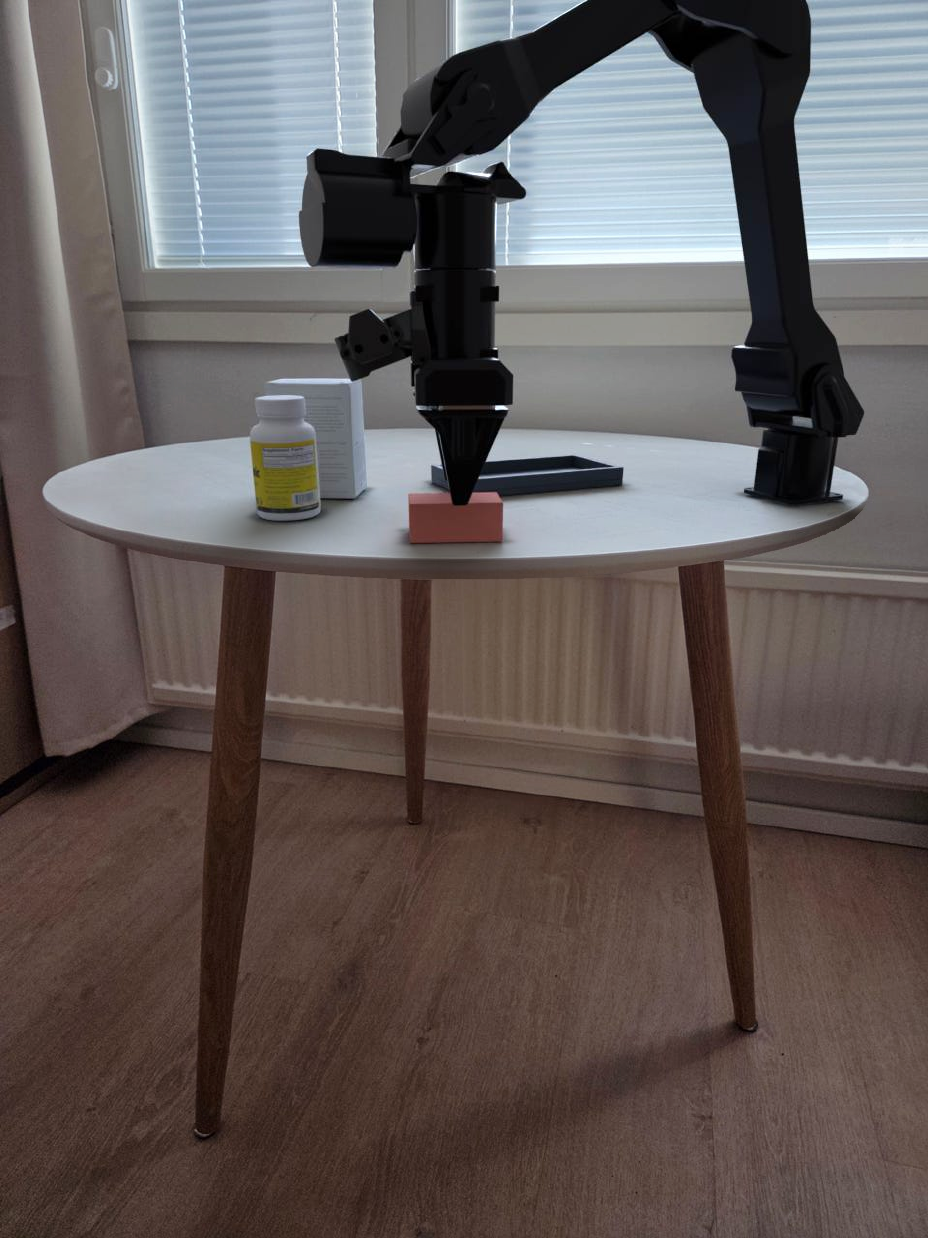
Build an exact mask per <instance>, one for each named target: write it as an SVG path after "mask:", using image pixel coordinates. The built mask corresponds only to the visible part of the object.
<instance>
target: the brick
mask: <svg viewBox="0 0 928 1238" xmlns="http://www.w3.org/2000/svg"><path fill="white" fill-rule="evenodd" d="M407 498H408V532H409V543H410V544H437V543H444V544H445V543H495V542H500V543H501V542H503V537H504V536H503V535H504V531H503V530H504V528H503V527H504V502H503V500H502V498H501V496H499V495H498V494H497V492H485V493H472V495H471V498H470V500H469V502H468V504H467V505H465V506H454V505H453V504H452V501H451V496H450V492H424V493H423V492H422V493H419V492H417V493H414V492H413V493H412V492H411V493H410V492H409V493H408V495H407Z"/></svg>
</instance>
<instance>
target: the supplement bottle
mask: <svg viewBox="0 0 928 1238" xmlns="http://www.w3.org/2000/svg"><path fill="white" fill-rule="evenodd" d="M254 404H255V405H254V406H255V413H256V416H257V417H258V418H259V423H257V424H255V425H254V426H253V427H252V428H251V429H250V431H249V443H250V444H249V445H250V455H251V465H252V475H253V484H254V485H253V486H254V496H255V505H256V513H257V515H258V517H260V518H261V519H264V520H266V521H267V520H268V521H276V522H278V521H279V522H287V521H288V522H289V521H300V520H307V519H311V518H313V517H315V516H316V517H317V515H319V514H320V512H321V510H322V509H321V508H322V505H321V498H320V488H319V473H318V459H317V445H316V433H315V429H314V428H313V426H312V425H310V424H308V423H306V422H304V419H303V415H305V414H306V413H305V410H306V409H305V398H304V397H302V396H295V395H275V396H265V395H264V396H257V397H255V399H254Z"/></svg>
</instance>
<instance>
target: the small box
mask: <svg viewBox="0 0 928 1238" xmlns="http://www.w3.org/2000/svg"><path fill="white" fill-rule="evenodd" d="M263 394H264V396H275V395H295V396H302V397H304V398H305V409H306V410H305V413H306V414H305V415H303V419H304V422H306V423H308V424H310V425H312V426H313V428H314V429H315V433H316V445H317V459H318V473H319V488H320V499H347V500H348V499H351V500H354V499H356V498H357V497H358V496H359V495H360V494H361V493H362V492H363V491H364V490H365V489H366V488H367V487H368V479H367V460H366V441H365V419H364V401H363V383H362V379H359V380H356V381H353V382H351V380H350V378H326V377H325V378H319V377H318V378H317V377H316V378H311V377H310V378H278V379H274V380H269V381H266V382H264V383H263Z"/></svg>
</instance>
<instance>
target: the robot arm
mask: <svg viewBox="0 0 928 1238" xmlns="http://www.w3.org/2000/svg"><path fill="white" fill-rule="evenodd" d="M809 8H810V7H809V3H808V2H807V0H584V1H582V2H580V3H578V4H577V5H575V6H574V7H572V8H570V9H569V10H567V11H565V12H564V13H562V14H559V15H558V16H556V17H554V19H552V20H550V21H548V22H547V23H544V24H543V25H541V26H539V28H536V29H535V30H533V31H531V32H528V33H525V34H522V35H518V36H515V37H509V38H504V39H499V40H495V41H492V42H488V43H486V44H482V45H479V46H476V47H473V48H470V49H466V50H462V51H460V52H458V53H455V54H453V55H451V56H450V57H449V58H446V59H445V60H443V61H442V62H440V63H439V64H437V65H436V66H434V67H432V68H431V69H429V70H428V71H426V72H424V73H423V74H421V75H420V76H418V77H417V78H416V79H414V81H412V83H410V84H409V85H408V86H407V88H406V89H405V91H404V92H403V94H402V102H401V107H400V112H399V113H400V125H399V127H398V129H397V130H396V132H395V133H394V134H393V136H392V137H391V139H390V141H389V143H388V144H387V146H386V147H385V149H384V150H383V151H382V154H381V155H380V156H370V155H360V154H359V155H357V154H347V153H345V152H341V151H339V150H337V149H332V148H331V149H329V148H320V147H319V148H318V147H317V148H316V149H313V150H312V151H311V152H309V153H308V154H307V155H306V158H305V159H306V172H307V174H306V177H305V179H304V183H303V188H302V195H301V196H302V198H301V209H300V210H299V212H298V225H299V226H298V227H299V228H298V229H299V237H300V242H301V248H302V252H303V255H304V258H305V261H306V263H307V264H308V266H309V267H311V268H327V269H329V268H330V269H331V268H333V269H368V270H371V269H372V270H394V269H396V268H397V267H398V266H399V265H400V263H401V261H402V258H403V255H405V254H409V253H411V251H412V250H413V270H414V271H413V278H414V279H413V281H414V282H413V283H414V284H413V285H414V286H413V290H410V291H409V309H406V310H404V311H402V312H399V313H396V314H393V315H390V316H388V317H385V318H382V319H381V318H380V317H379V316H378V315H377V314H376V313H375V312H374V311H373V310H372V309H371V308H367V309H364V310H362V311H359V312H357V313H354V314H352V315H349V318H348V329H347V330H348V331H347V333H344V334H341V335H340V336H337V337H334V339H333V340H334V343H335V345H336V348H337V350H338V353H339V356H340V358H341V361H342V363H343V365H344V368H345V371H346V373H347V376H348V379H350V380H351V382H353V381H356V380H359V379H361V380H362V379H364V378H367V377H370V375H371V373H372V372H374V371H377V370H379V369H382V368H385V367H387V366H390V365H393V364H396V363H398V362H401V361H402V360H405V359H408V358H410V362H409V363H410V365H409V366H410V387H412V388H414V389H413V390H412V395H413V396H414V402H415V407H416V408H415V409H416V411H417V413H418V414H419V415H420V416H421V418H423V419H424V420H425V422H427V423H428V424H429V425H430V426H431V427H433V429H434V433H435V438H436V443H437V448H438V454H439V458H440V459H439V460H440V464H442V469H443V474H444V479H445V481H447V482H448V485H449V490H448V491H449V493H450V496H451V501H452V504H453V505H454V506H465V505H467V504H468V502H469V500H470V498H471V495H472V493H473V491H474V488H475V486H476V483H477V481H478V479H479V476H480V474H481V471H482V469H483V467H484V464H485V462H486V461H488V458H489V455H490V452H491V450H492V448H493V445H494V443H495V442H496V439H497V437H498V434H499V432H500V430H501V428H502V426H503V423H504V422H505V419H506V417H508V414H509V410H510V409H509V408H508V407H507V406H512V405H513V404H514V374H513V373H512V372H511V370H510V369H509V368H508V367H507V366H506V365H505V364H504V363H503V362H502V361H501V360H500V359H499V348H496V336H495V335H496V303H498V302H499V301H500V285H496V277H497V276H496V273H497V271H496V267H497V266H496V264H497V261H496V260H497V205H504V204H508V203H509V204H510V203H513V202H516V201H520V200H524V199H525V198H526V195H527V190H526V188H525V187H524V186H523V185H522V184H521V183H520V181H519V180H518V179H516V177H514V176H513V175H512V174H511V172H510V171H509V169H508V168H507V165H506V163H505V162H504V161H498V162H495V163H491V164H489V165H487V166H486V167H485V168H484V170H482V172H481V173H477V172H464V171H454V170H453V171H451V170H450V171H446V172H445V173H444V174H442V176H440V178H439V180H438V182H437V183H436V185H435V184H419V183H411V179H413V178H416V177H418V176H421V175H423V174H426V173H428V172H432V171H434V170H436V169H447V168H449V167H452V166H455V165H457V164H460V163H463V162H465V161H468V160H471V159H473V158H476V157H478V156H481V155H484V154H486V153H489V152H491V151H494V150H495V149H497V148H498V147H499V146H500V145H501V144H503V142H505V141H506V139H508V138H509V137H510V136H511V135H512V134H513V133H514V132H515V131H516V130H517V129H518V128H519V127H520V126H521V125H523V124H524V123H525V121H527V120H528V119H529V118H530V116H532V114H533V113H534V111H535V110H536V109H537V107H538V106H539V105H540V104H541V102H542V101H544V100H545V98H547V96H549V95H550V93H552V92H553V91H554V90H555V89H557V88H558V87H561V85H563V84H565V83H567V82H568V81H570V80H571V79H573V78H575V77H576V76H578V75H580V74H581V73H583V72H584V71H586V70H588V69H590V68H591V67H593V66H594V65H596V64H598V63H599V62H601V61H602V60H604V59H606V58H608V57H609V56H611V55H612V54H614V53H616V52H617V51H619V50H620V49H622V48H624V47H625V46H627V45H629V44H631V43H632V42H634V41H635V40H636V39H639V38H640V37H642V36H643V35H645V34H647V33H648V34H649V35H651V36H652V37H654V39H655V41H656V42H657V44H658V45H659V47H660V48H661V50H662V51H663V53H664V54H665V56H666V58H667V59H668V60H669V61H671V62H673V63H675V64H677V65H678V66H679V67H682V68H684V69H685V70H687V71H688V72H691V73H692V74H693V77H694V79H695V84H696V88H697V91H698V94H699V97H700V101H701V105H702V108H703V109H704V111H705V112H706V114H707V115H708V117H709V118H710V119H711V121H712V122H713V123H714V125H715V126H716V128H717V129H718V130H719V131H720V133H721V134H722V135H723V137H724V138H725V141H726V144H727V148H728V155H729V156H728V157H729V162H730V163H729V164H730V169H731V176H732V183H733V192H734V198H735V206H736V212H737V218H738V226H739V234H740V241H741V249H742V255H743V263H744V270H745V276H746V284H747V292H748V299H749V305H750V312H751V324H750V327H749V329H748V332H747V335H746V337H745V340H744V342H743V344H740V345H736V346H733V347H732V348H731V353H730V358H731V361H732V365H733V367H734V371H735V383H734V384H735V385H734V392H738V393H741V397H742V400H743V402H744V404H745V405H746V411H747V418H748V424H749V427H751V428H761V429H763V430H762V435H761V436H762V437H761V444H760V446H759V447H758V449H757V457H756V465H755V473H754V482H753V486H750V487H744V488H743V493H744V494H746V495H750V496H753V497H758V498H761V499H766V500H770V501H773V502H777V503H782V504H785V505H789V506H798V505H806V504H809V505H810V504H817V503H825V502H836V501H843V500H844V494H843V493H839V492H835V491H834V492H833V491H832V489H831V488H832V483H833V476H834V469H835V464H836V463H835V462H836V456H837V450H838V442H839V438H847V436H856V434H857V433H858V431H859V428H860V426H861V423H862V421H863V418H864V416H865V410H864V407H863V406H862V405H861V402H860V401H859V399H858V398H857V396H856V394H855V392H854V391H853V389H852V387H851V386H850V384H849V382H848V380H847V379H846V377H845V372H844V370H845V369H844V366H843V362H842V358H841V353H840V349H839V345H838V342H837V341H838V340H837V338H836V336H835V334H834V333H833V332H832V330H831V329H830V328H829V326H828V325H827V323H826V322H825V321H824V319H823V318H822V317H821V316H820V314H819V313H818V311H817V310H816V308H815V304H814V299H813V288H812V279H811V271H810V269H811V268H810V261H809V252H808V241H807V232H806V223H805V212H804V205H803V204H804V203H803V195H802V185H801V177H800V167H799V158H798V157H799V156H798V149H797V147H798V146H797V138H796V128H795V118H796V114H797V112H798V110H799V106H800V103H801V100H802V98H803V95H804V92H805V89H806V86H807V83H808V81H809V78H810V75H811V57H812V56H811V55H812V16H811V12H810V9H809ZM793 417H794V418H793ZM795 417H797V418H795ZM800 418H801V419H800ZM802 418H805V419H802ZM808 419H811V420H808Z"/></svg>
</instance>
